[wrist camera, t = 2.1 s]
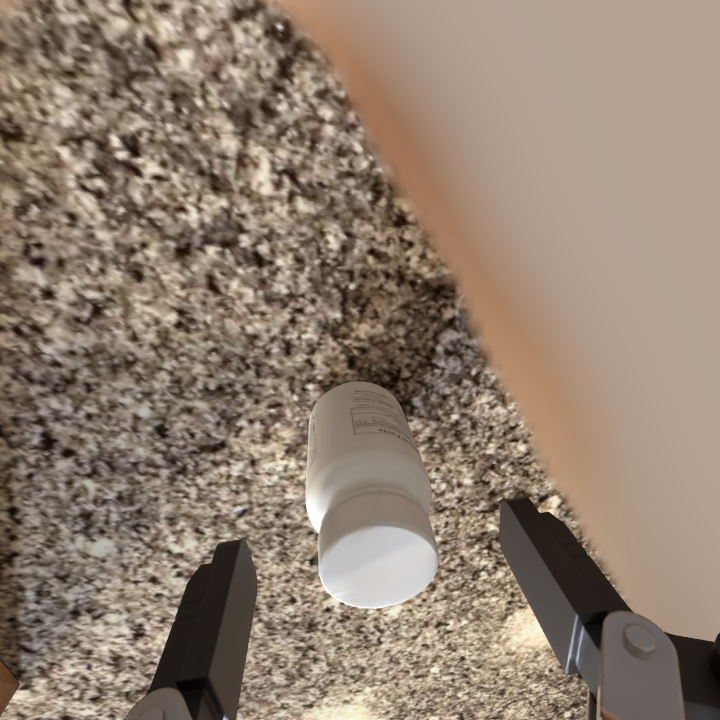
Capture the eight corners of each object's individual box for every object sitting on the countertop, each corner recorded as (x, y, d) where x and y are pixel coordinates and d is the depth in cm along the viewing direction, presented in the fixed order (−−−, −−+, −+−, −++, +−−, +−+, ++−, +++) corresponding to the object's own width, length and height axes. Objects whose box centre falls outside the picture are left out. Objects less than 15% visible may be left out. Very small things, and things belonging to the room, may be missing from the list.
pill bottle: (343, 473, 19) (357, 640, 12) (290, 411, 17) (268, 562, 10) (419, 429, 18) (482, 577, 11) (371, 360, 16) (410, 482, 9)
